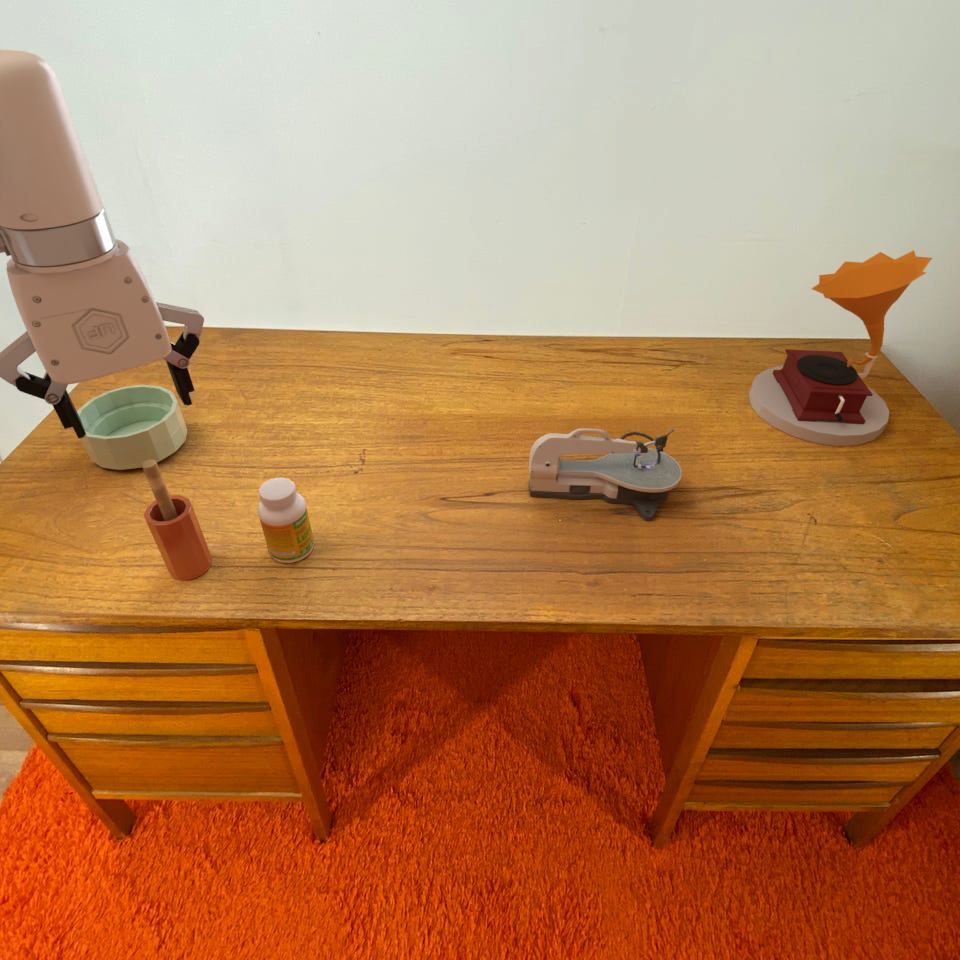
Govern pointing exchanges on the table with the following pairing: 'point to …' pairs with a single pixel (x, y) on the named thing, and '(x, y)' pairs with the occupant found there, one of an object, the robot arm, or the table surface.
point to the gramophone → (838, 361)
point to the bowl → (132, 426)
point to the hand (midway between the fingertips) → (134, 414)
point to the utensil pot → (179, 539)
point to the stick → (159, 489)
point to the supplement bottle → (284, 521)
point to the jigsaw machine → (604, 469)
